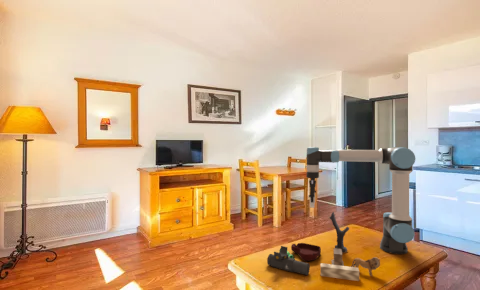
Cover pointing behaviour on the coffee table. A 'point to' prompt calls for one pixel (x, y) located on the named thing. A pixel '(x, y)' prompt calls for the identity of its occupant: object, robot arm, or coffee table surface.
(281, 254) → the laser sight
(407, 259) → the coffee table surface
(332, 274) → the block
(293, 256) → the candy
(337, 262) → the pedestal
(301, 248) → the ashtray
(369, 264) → the lion figurine
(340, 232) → the antler
